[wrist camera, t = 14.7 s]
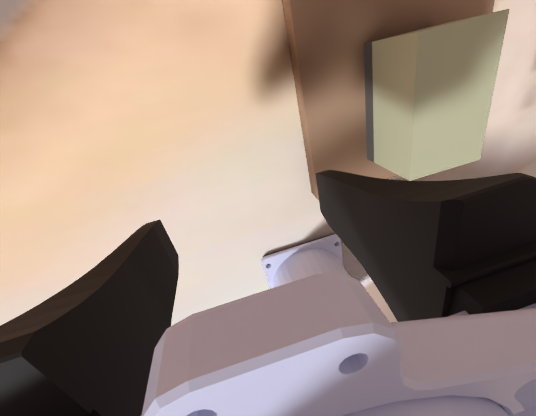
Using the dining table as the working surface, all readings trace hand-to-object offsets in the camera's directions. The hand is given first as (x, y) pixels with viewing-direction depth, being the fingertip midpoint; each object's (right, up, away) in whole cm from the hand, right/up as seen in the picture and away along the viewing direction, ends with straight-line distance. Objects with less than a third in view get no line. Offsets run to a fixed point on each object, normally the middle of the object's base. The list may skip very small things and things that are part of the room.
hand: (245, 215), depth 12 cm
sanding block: (+11, +8, +7) cm, 15 cm away
